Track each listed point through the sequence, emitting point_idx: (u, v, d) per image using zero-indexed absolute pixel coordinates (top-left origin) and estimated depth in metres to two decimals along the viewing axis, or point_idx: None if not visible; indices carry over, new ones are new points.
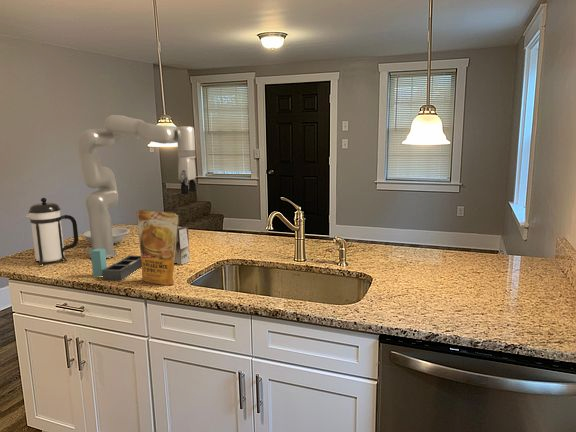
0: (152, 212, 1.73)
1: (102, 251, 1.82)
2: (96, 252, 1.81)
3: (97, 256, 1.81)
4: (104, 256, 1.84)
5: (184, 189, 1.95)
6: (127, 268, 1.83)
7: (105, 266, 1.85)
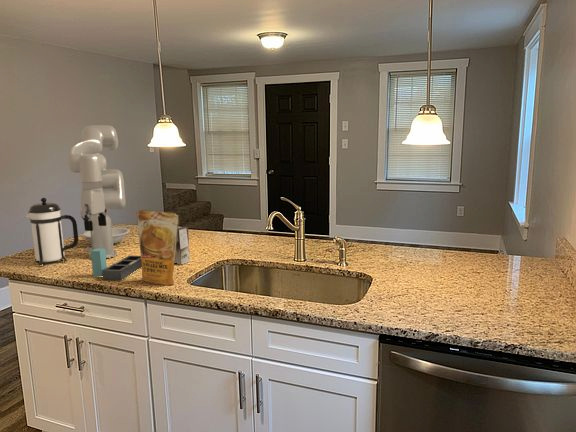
0: (152, 212, 1.73)
1: (102, 251, 1.82)
2: (96, 252, 1.81)
3: (97, 256, 1.81)
4: (104, 256, 1.84)
5: (87, 225, 1.75)
6: (127, 268, 1.83)
7: (105, 266, 1.85)
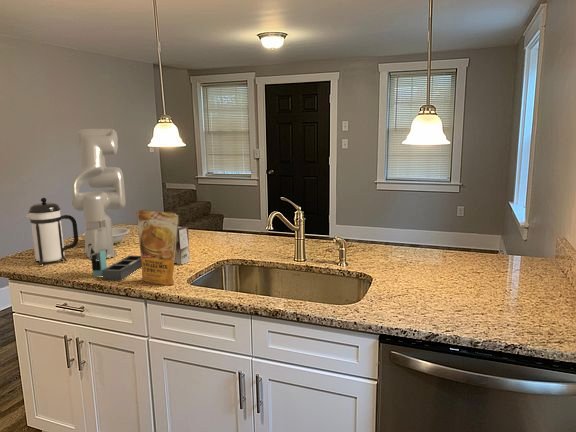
0: (152, 212, 1.73)
1: (102, 251, 1.82)
2: None
3: None
4: (104, 256, 1.84)
5: (95, 265, 1.80)
6: (127, 268, 1.83)
7: (105, 266, 1.84)
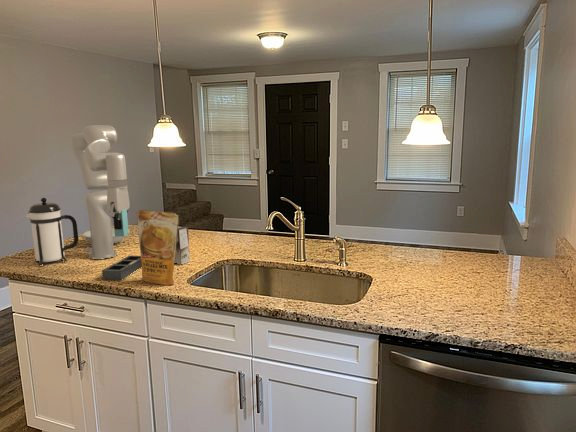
0: (152, 212, 1.73)
1: (124, 210, 1.84)
2: None
3: None
4: (126, 216, 1.85)
5: (117, 224, 1.82)
6: (127, 268, 1.83)
7: (126, 226, 1.86)
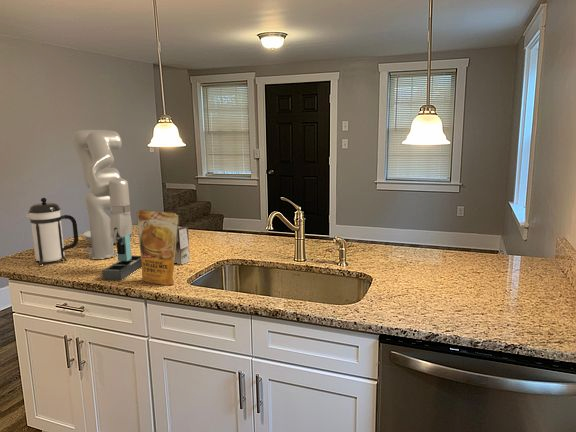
0: (152, 212, 1.73)
1: (127, 235, 1.86)
2: None
3: None
4: (129, 240, 1.87)
5: (120, 249, 1.84)
6: (127, 268, 1.83)
7: (129, 250, 1.88)
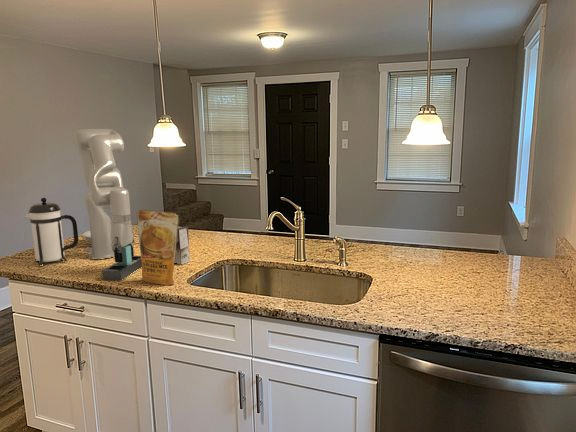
0: (152, 212, 1.73)
1: (128, 248, 1.87)
2: (122, 249, 1.85)
3: (123, 252, 1.86)
4: (129, 253, 1.88)
5: (117, 257, 1.82)
6: (127, 268, 1.83)
7: (130, 262, 1.89)
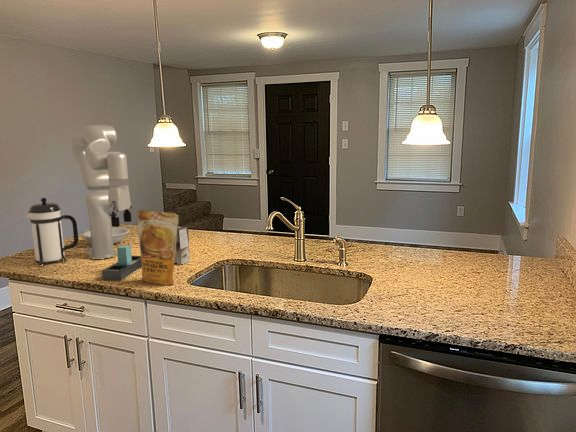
0: (152, 212, 1.73)
1: (128, 248, 1.87)
2: (122, 249, 1.85)
3: (123, 252, 1.86)
4: (129, 253, 1.88)
5: (114, 221, 1.80)
6: (127, 268, 1.83)
7: (130, 262, 1.89)
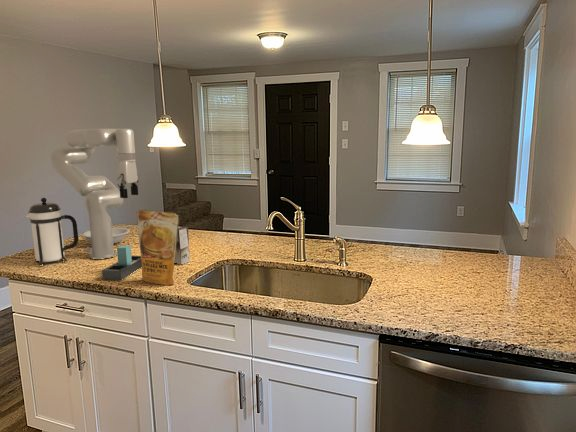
0: (152, 212, 1.73)
1: (128, 248, 1.87)
2: (122, 249, 1.85)
3: (123, 252, 1.86)
4: (129, 253, 1.88)
5: (123, 193, 1.92)
6: (127, 268, 1.83)
7: (130, 262, 1.89)
